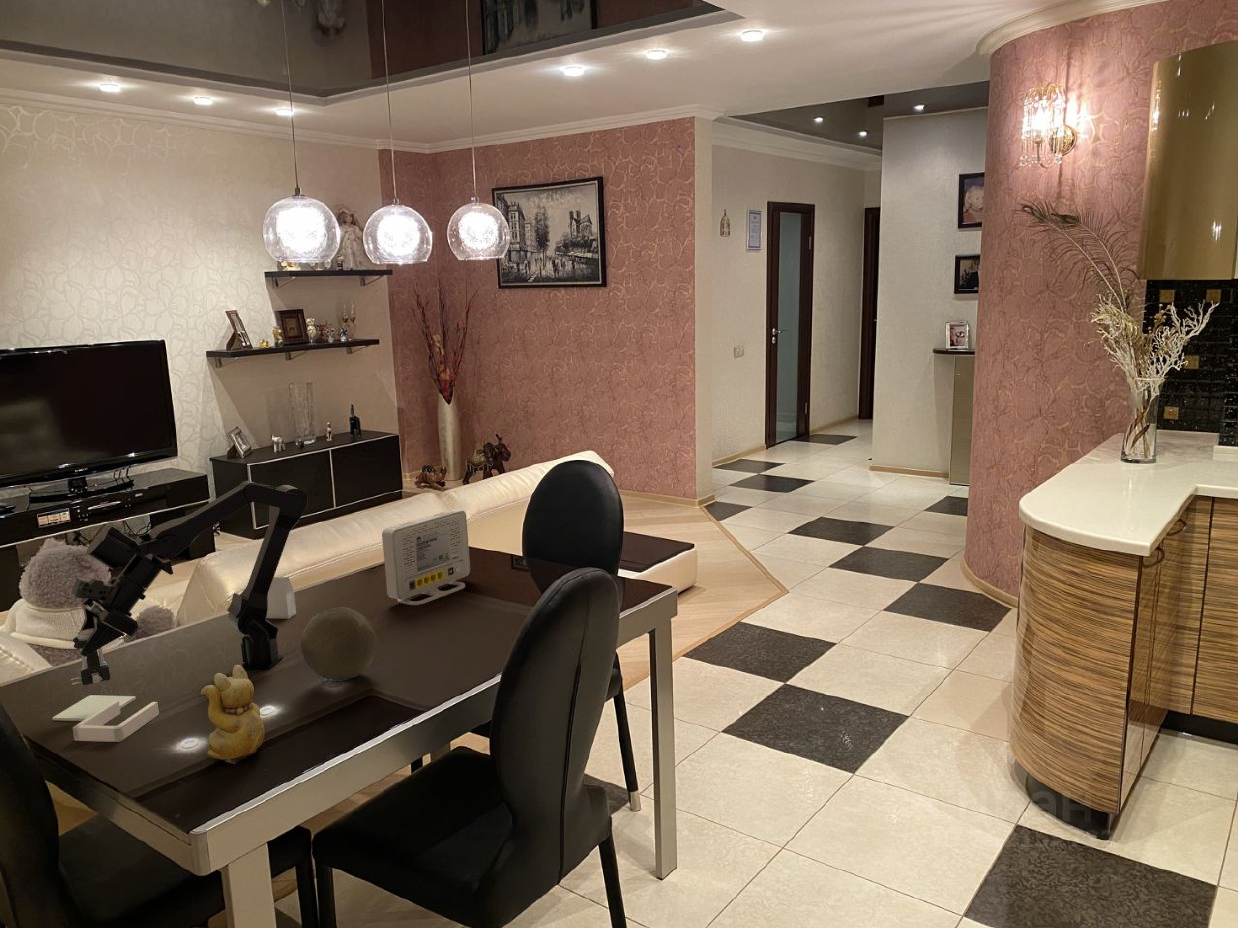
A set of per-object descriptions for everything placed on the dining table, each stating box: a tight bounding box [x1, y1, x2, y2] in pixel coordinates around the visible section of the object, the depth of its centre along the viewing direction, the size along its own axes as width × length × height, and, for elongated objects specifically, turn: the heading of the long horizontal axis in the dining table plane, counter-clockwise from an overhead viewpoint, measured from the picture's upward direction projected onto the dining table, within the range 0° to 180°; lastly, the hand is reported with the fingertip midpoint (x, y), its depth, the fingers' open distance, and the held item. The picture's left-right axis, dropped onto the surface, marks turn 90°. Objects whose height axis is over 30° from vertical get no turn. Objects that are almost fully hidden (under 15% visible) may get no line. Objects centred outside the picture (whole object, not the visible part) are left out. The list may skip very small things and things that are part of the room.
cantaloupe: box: [300, 606, 377, 682], centre depth 185 cm, size 14×14×15 cm
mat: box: [52, 694, 137, 722], centre depth 177 cm, size 10×10×1 cm
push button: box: [70, 628, 111, 686], centre depth 176 cm, size 7×5×10 cm
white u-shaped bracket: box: [72, 701, 160, 743], centre depth 169 cm, size 9×11×2 cm
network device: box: [381, 508, 471, 606], centre depth 239 cm, size 26×9×20 cm, turn 144°
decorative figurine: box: [200, 664, 266, 765], centre depth 155 cm, size 10×8×15 cm
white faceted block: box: [266, 576, 297, 619], centre depth 227 cm, size 4×7×10 cm, turn 81°
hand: (79, 651), depth 174 cm, fingers closed on push button, 5 cm apart
